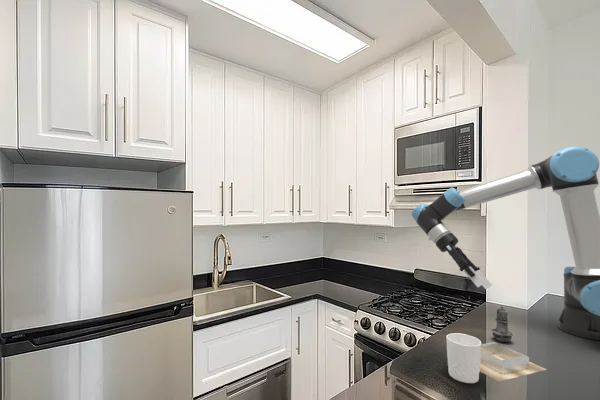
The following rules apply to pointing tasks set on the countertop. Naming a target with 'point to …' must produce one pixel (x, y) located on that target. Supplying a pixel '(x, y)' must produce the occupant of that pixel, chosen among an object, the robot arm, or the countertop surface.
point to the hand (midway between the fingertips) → (485, 286)
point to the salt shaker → (502, 326)
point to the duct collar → (513, 358)
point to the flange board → (499, 377)
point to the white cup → (463, 357)
